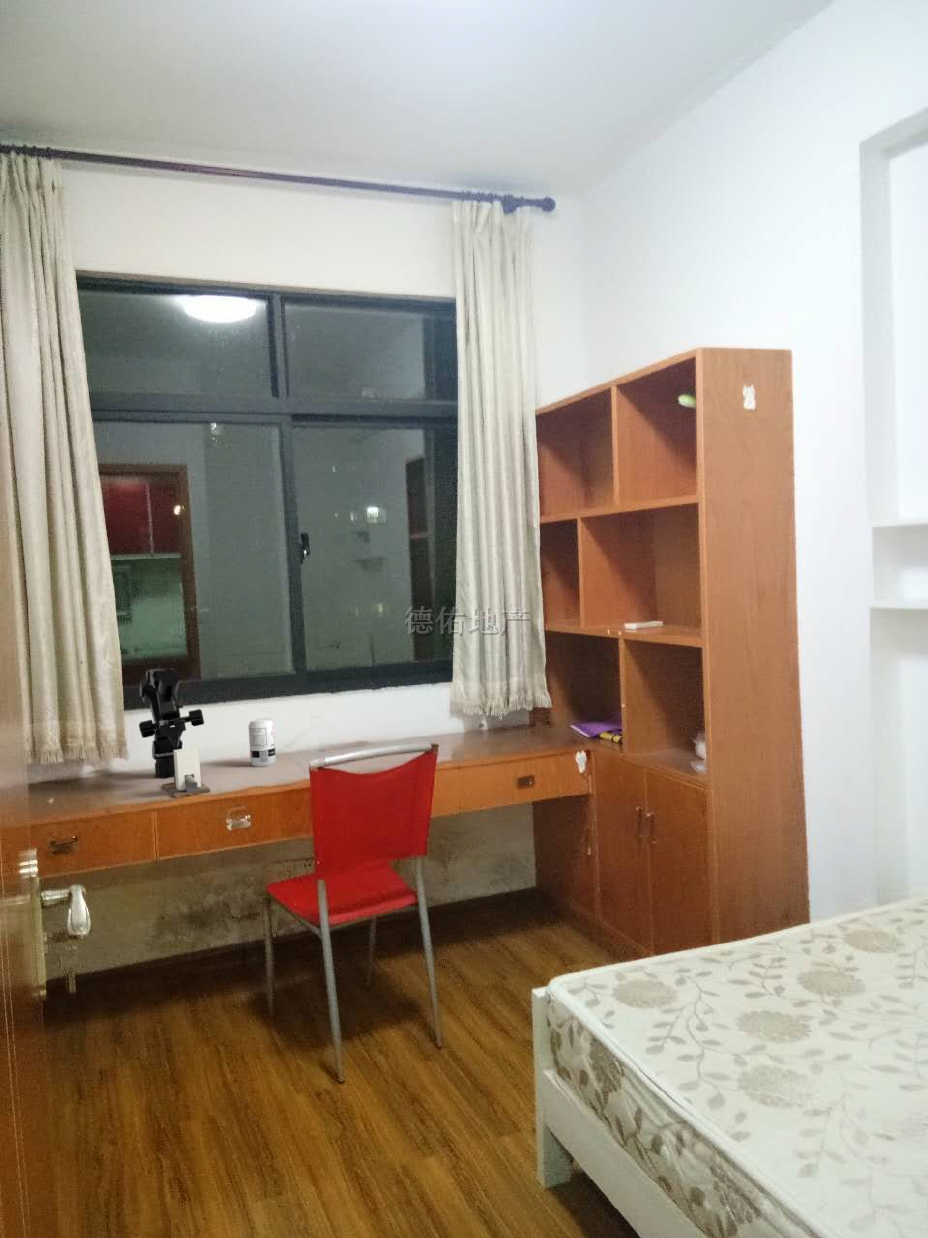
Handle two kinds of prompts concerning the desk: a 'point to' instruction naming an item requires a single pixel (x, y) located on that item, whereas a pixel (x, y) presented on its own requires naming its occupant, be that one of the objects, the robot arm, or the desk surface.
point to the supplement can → (262, 742)
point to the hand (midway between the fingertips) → (176, 747)
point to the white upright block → (186, 766)
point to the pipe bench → (190, 787)
